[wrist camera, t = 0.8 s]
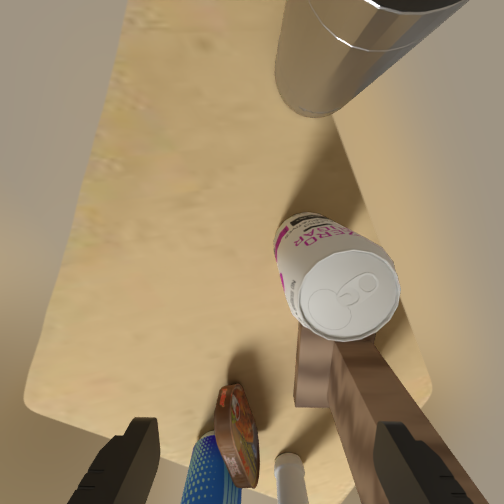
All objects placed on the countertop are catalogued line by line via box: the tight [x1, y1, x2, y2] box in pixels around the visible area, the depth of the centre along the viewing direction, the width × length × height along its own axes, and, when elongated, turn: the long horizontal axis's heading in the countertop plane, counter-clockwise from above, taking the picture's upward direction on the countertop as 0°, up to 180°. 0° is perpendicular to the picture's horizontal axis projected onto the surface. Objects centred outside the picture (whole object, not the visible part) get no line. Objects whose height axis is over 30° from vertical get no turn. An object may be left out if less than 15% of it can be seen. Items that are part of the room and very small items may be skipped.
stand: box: [293, 322, 489, 504], centre depth 21 cm, size 14×10×30 cm
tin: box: [214, 383, 260, 488], centre depth 35 cm, size 15×3×8 cm, turn 15°
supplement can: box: [274, 212, 401, 342], centre depth 23 cm, size 8×8×15 cm
